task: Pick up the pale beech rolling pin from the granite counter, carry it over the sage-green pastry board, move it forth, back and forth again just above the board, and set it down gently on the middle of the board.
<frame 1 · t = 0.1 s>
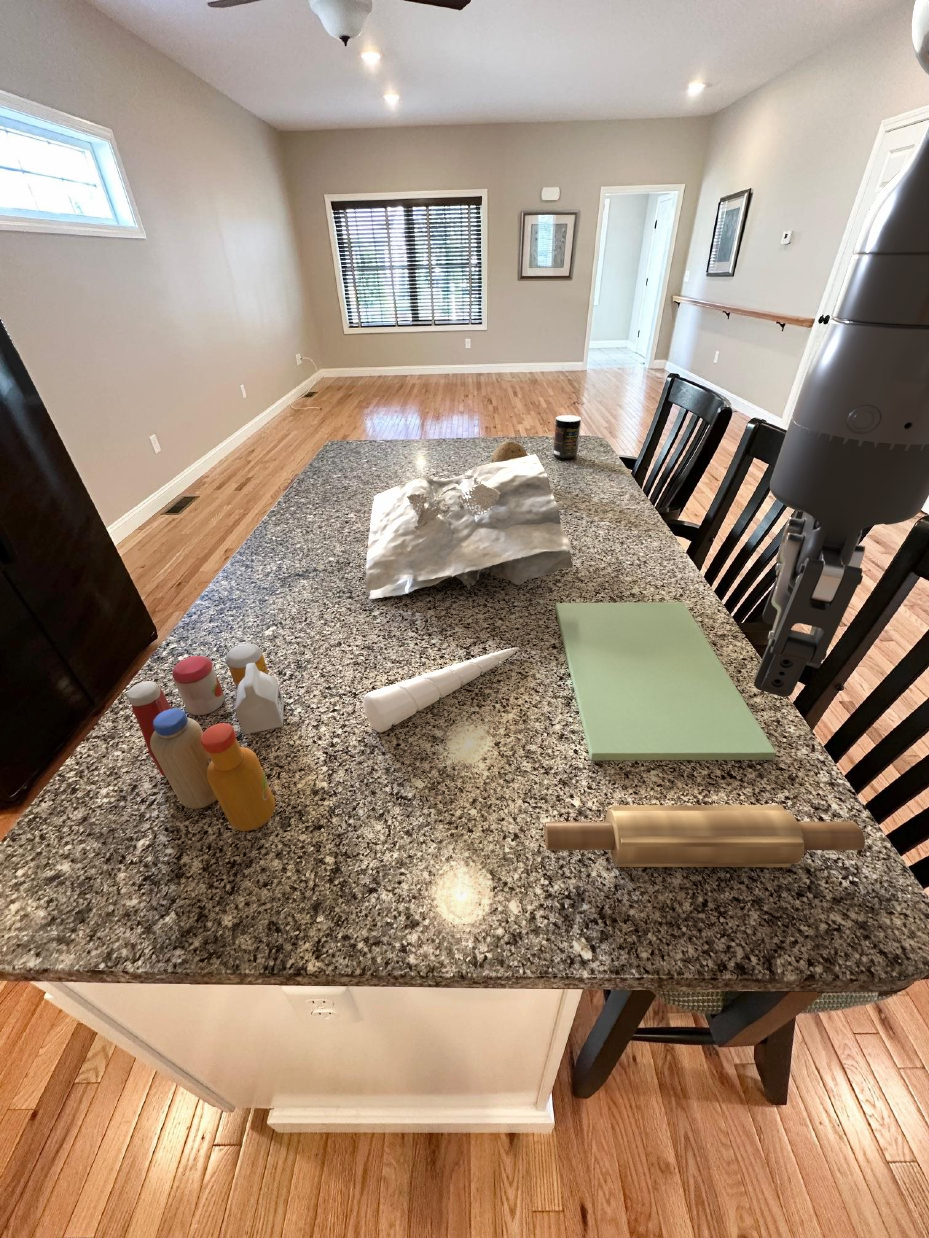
hand: (773, 653, 37), 22 cm above the countertop, tool pointing down, fingers open, 8 cm apart
pastry board: (644, 671, 69), on the countertop
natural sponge: (508, 482, 128), on the countertop
unicorn horn: (445, 689, 67), on the countertop
supplement container: (564, 458, 143), on the countertop
rolling pin: (693, 850, 48), on the countertop
white terrain model: (463, 554, 97), on the countertop
toy food: (227, 742, 60), on the countertop
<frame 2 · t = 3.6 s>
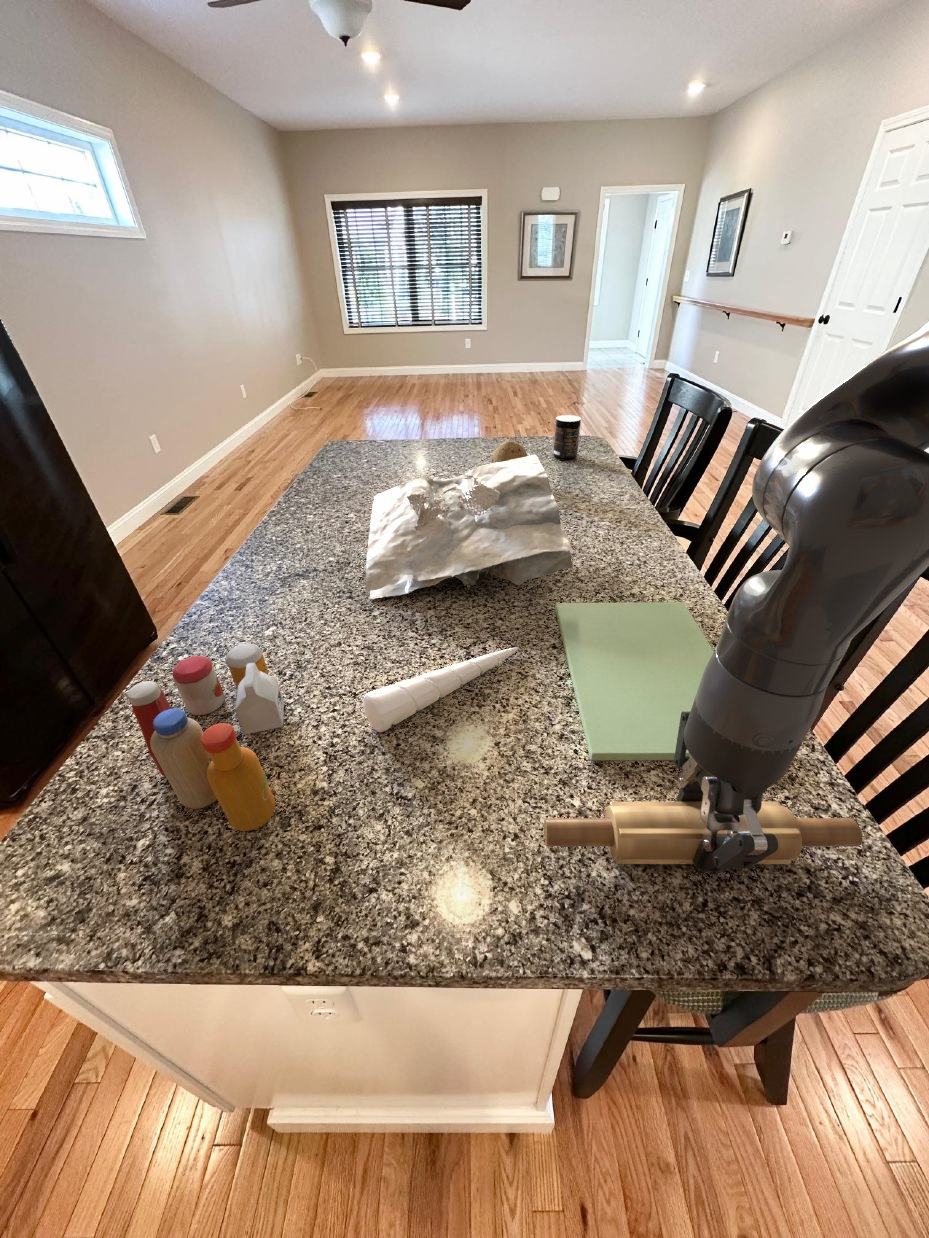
hand: (694, 838, 48), 1 cm above the countertop, tool pointing down, fingers closed on rolling pin, 4 cm apart
rolling pin: (693, 850, 48), on the countertop, tilted 10°, touching gripper
everything else where it was.
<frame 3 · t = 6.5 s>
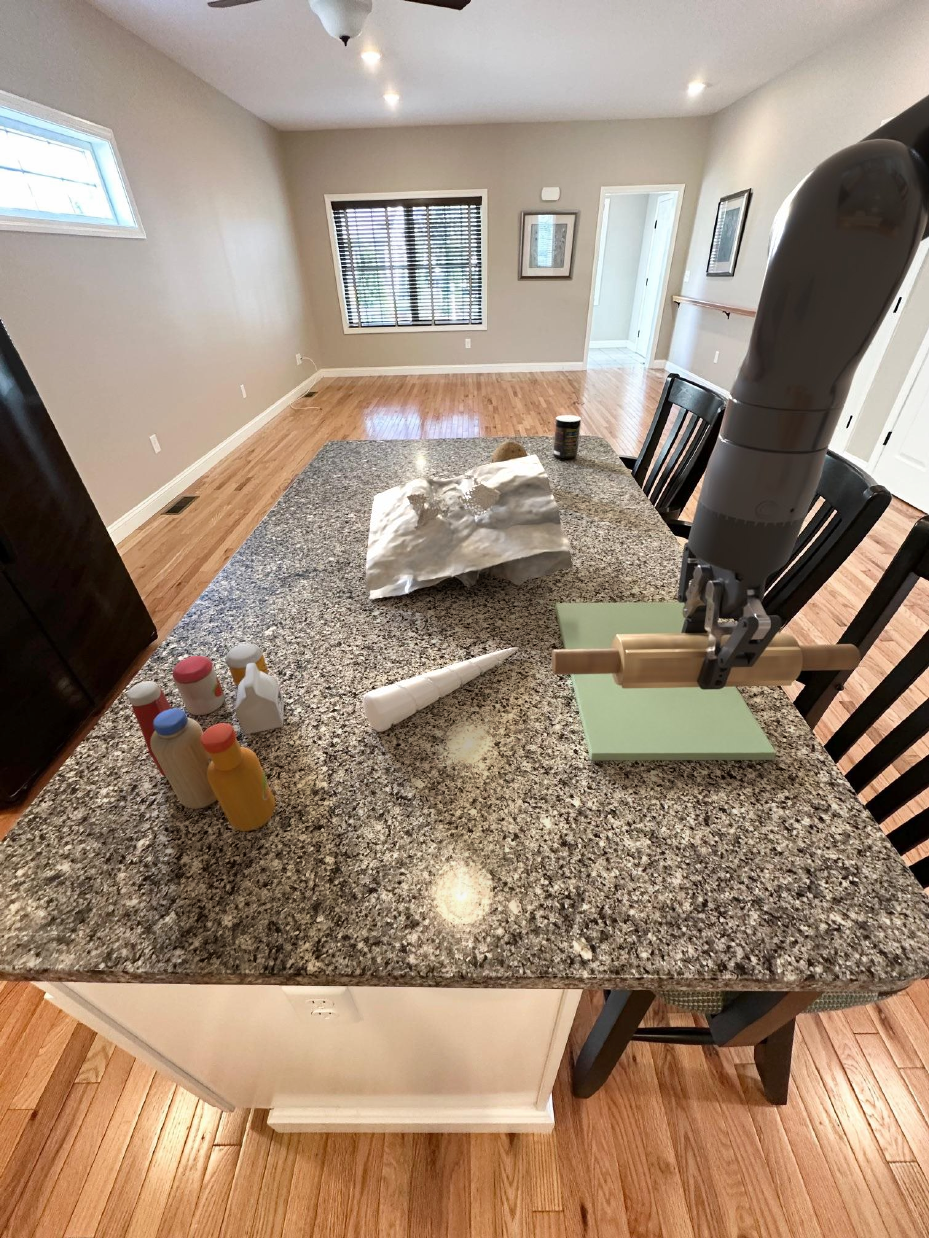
hand: (698, 667, 49), 13 cm above the countertop, tool pointing down, fingers closed on rolling pin, 4 cm apart
rolling pin: (697, 680, 49), point 12 cm above the countertop, tilted 10°, touching gripper
everything else where it was.
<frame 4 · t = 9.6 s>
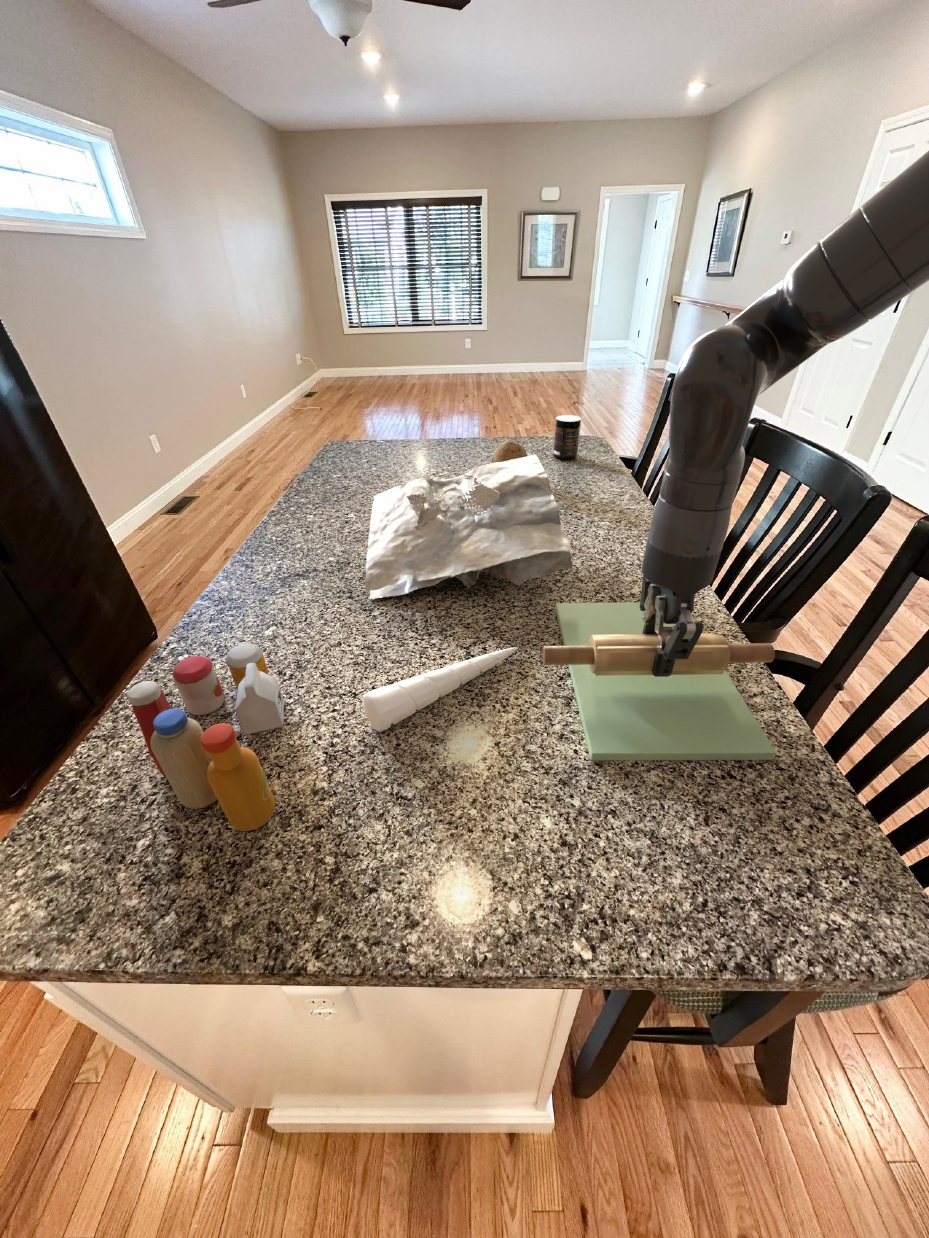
hand: (654, 660, 65), 4 cm above the countertop, tool pointing down, fingers closed on rolling pin, 4 cm apart
rolling pin: (653, 670, 65), point 3 cm above the countertop, tilted 10°, touching gripper
everything else where it was.
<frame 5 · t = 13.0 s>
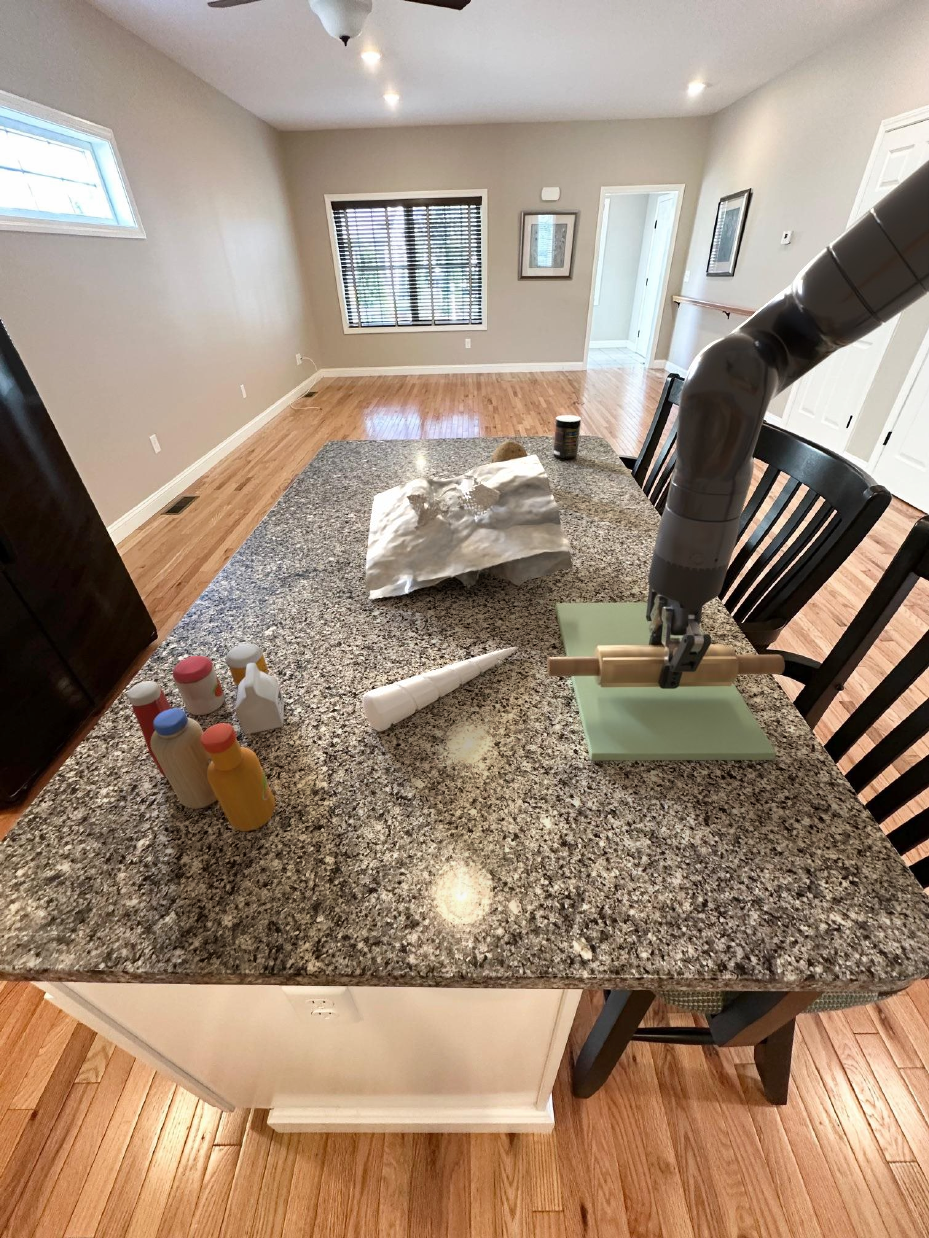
hand: (661, 671, 63), 4 cm above the countertop, tool pointing down, fingers closed on rolling pin, 4 cm apart
rolling pin: (660, 681, 64), point 2 cm above the countertop, tilted 11°, touching gripper
everything else where it was.
when the fingers open (2 cm above the countertop, at t = 15.6 s): rolling pin stays where it is, resting on pastry board.
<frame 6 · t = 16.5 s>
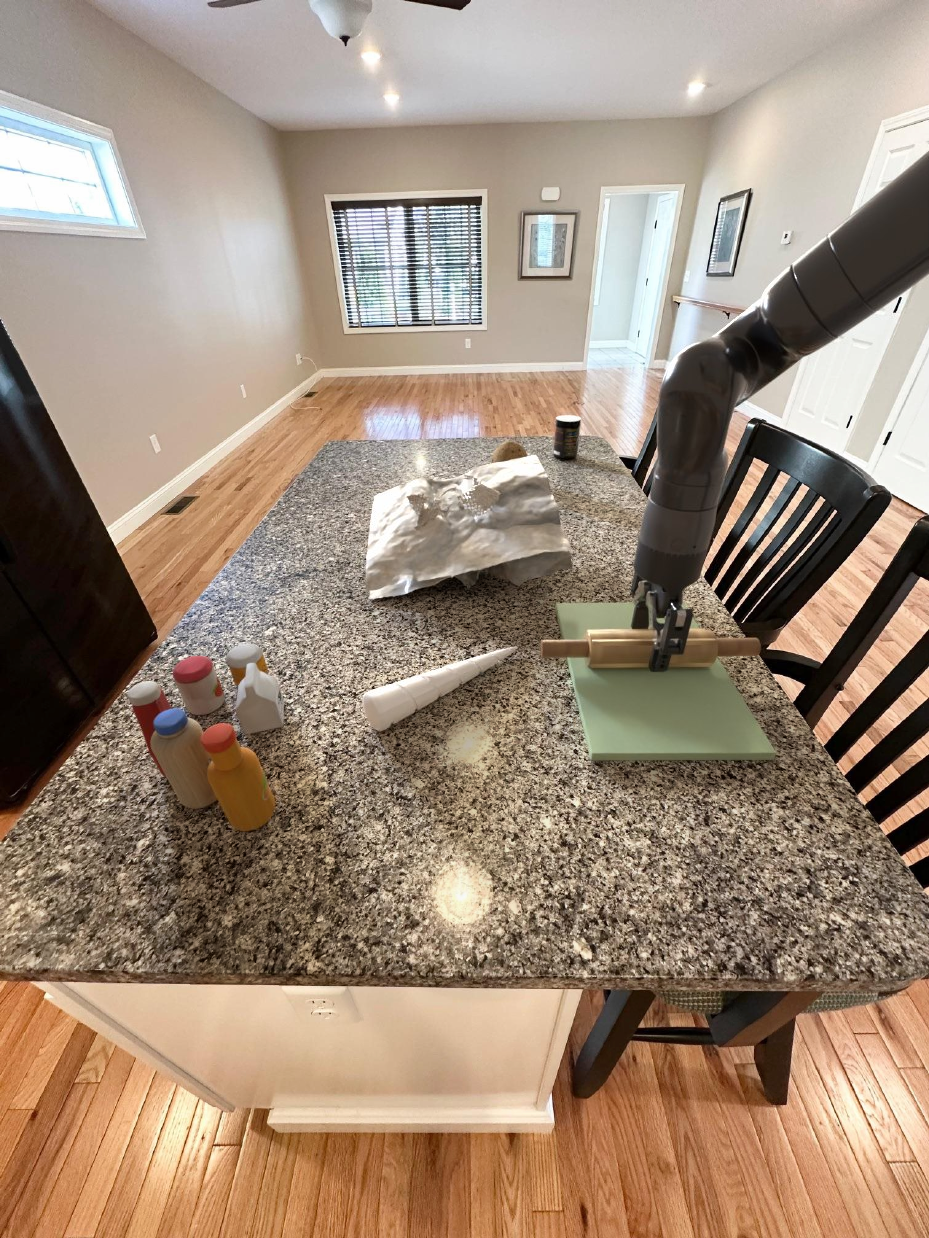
hand: (647, 648, 67), 3 cm above the countertop, tool pointing down, fingers open, 8 cm apart
rolling pin: (646, 663, 68), point 1 cm above the countertop, tilted 12°, touching pastry board
everything else where it was.
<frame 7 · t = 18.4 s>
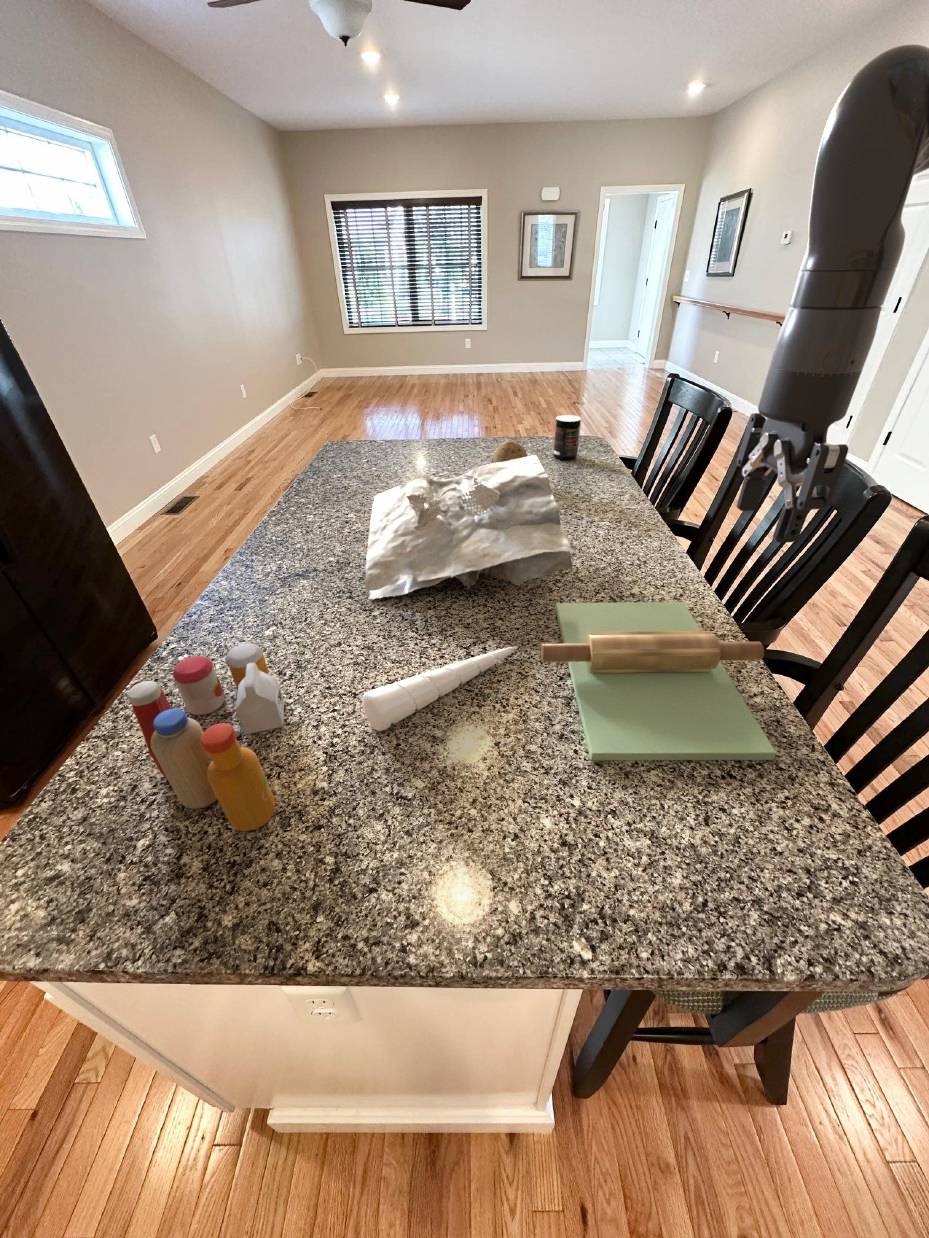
hand: (763, 524, 57), 21 cm above the countertop, tool pointing down, fingers open, 8 cm apart
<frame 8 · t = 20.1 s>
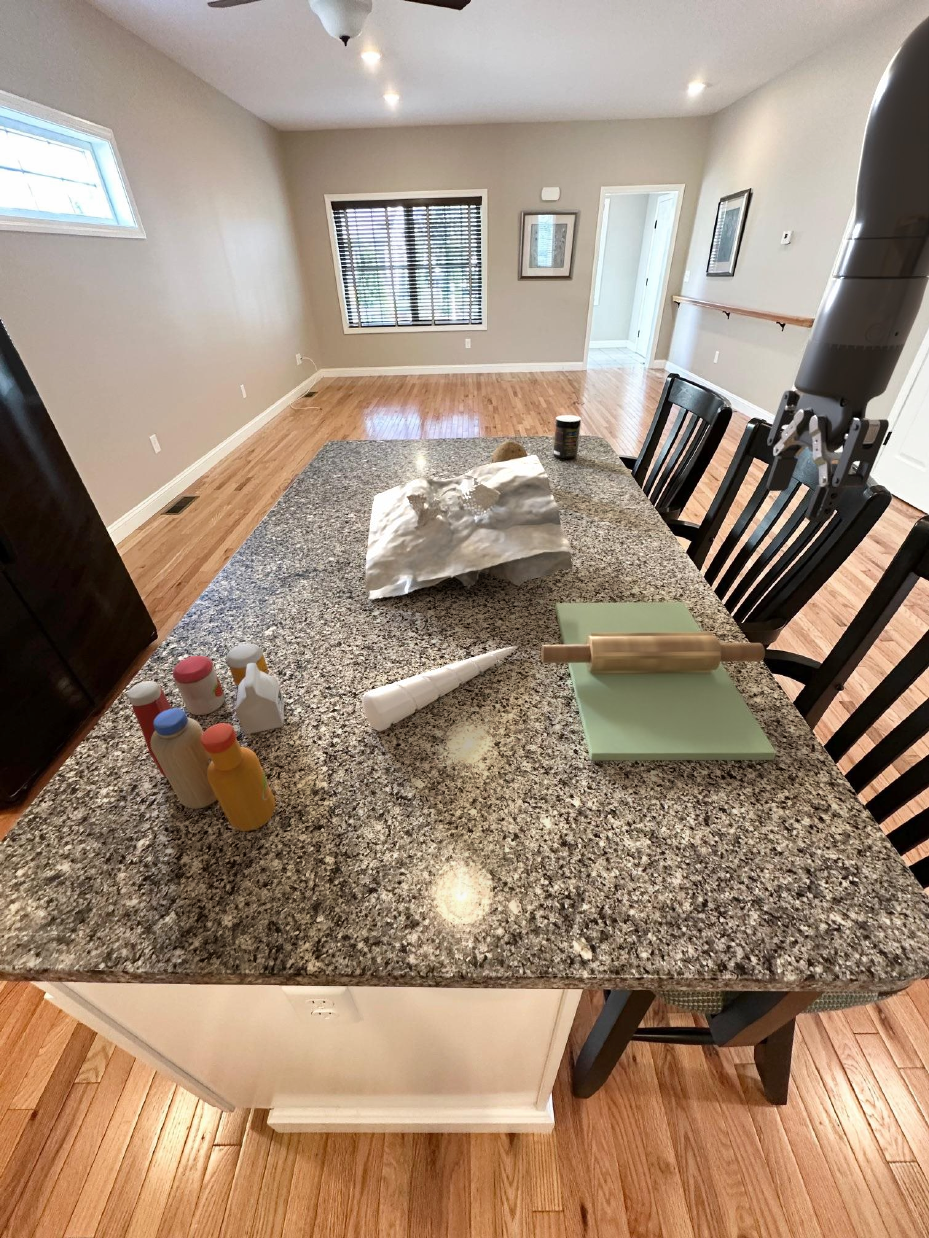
hand: (794, 504, 56), 23 cm above the countertop, tool pointing down, fingers open, 8 cm apart
rolling pin: (646, 663, 68), point 1 cm above the countertop, tilted 14°, touching pastry board
everything else where it was.
at the end: rolling pin 0.1 cm from the pastry board (horizontally); rolling pin point 1.3 cm above the countertop; the gripper is holding nothing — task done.
